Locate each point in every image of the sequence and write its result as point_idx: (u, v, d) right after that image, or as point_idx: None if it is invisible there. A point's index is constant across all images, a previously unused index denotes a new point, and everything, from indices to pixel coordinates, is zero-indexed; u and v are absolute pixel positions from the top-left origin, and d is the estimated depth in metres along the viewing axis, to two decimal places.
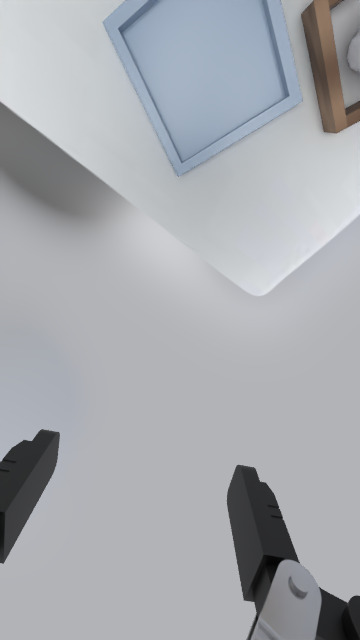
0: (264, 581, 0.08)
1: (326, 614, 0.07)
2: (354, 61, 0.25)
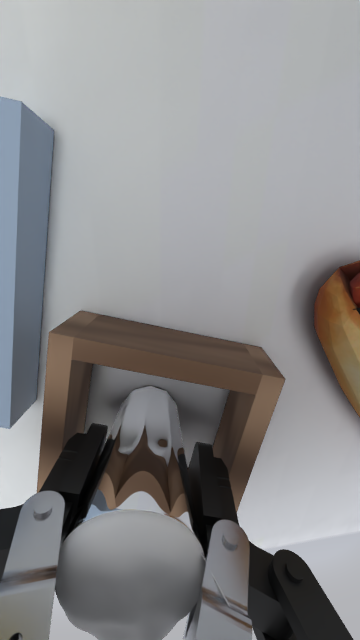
0: (204, 539, 0.09)
1: (254, 565, 0.08)
2: None
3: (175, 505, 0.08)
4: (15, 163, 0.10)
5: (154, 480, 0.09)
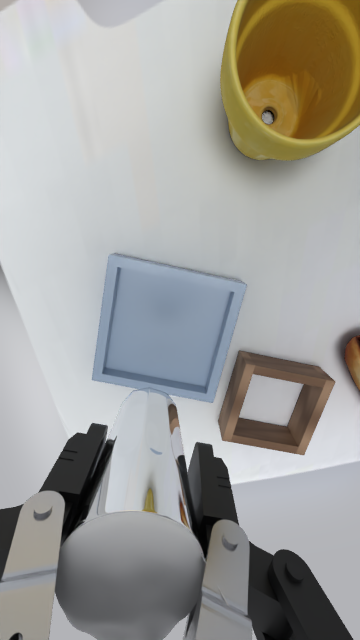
0: (204, 539, 0.09)
1: (254, 565, 0.08)
2: None
3: (175, 506, 0.08)
4: (240, 303, 0.27)
5: (154, 481, 0.09)
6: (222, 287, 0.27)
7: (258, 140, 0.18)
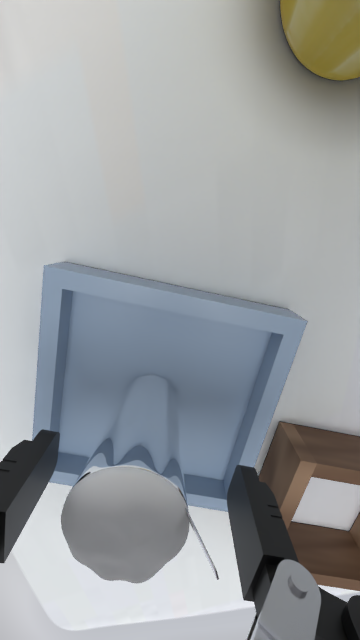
0: (264, 581, 0.08)
1: (326, 614, 0.07)
2: None
3: (165, 468, 0.10)
4: (292, 354, 0.15)
5: (149, 447, 0.10)
6: (261, 326, 0.14)
7: None
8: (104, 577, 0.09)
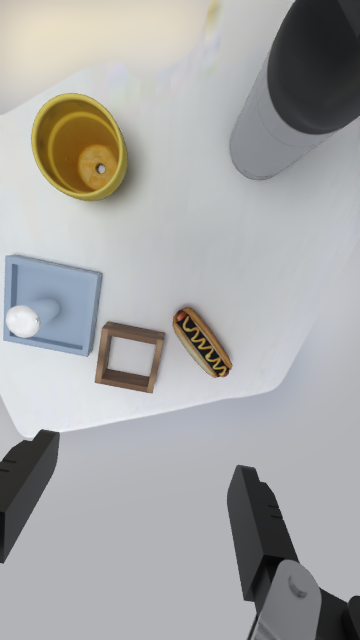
0: (264, 581, 0.08)
1: (326, 614, 0.07)
2: None
3: (34, 308, 0.36)
4: (95, 287, 0.41)
5: (31, 305, 0.37)
6: (81, 277, 0.41)
7: None
8: (16, 332, 0.36)
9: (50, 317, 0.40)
